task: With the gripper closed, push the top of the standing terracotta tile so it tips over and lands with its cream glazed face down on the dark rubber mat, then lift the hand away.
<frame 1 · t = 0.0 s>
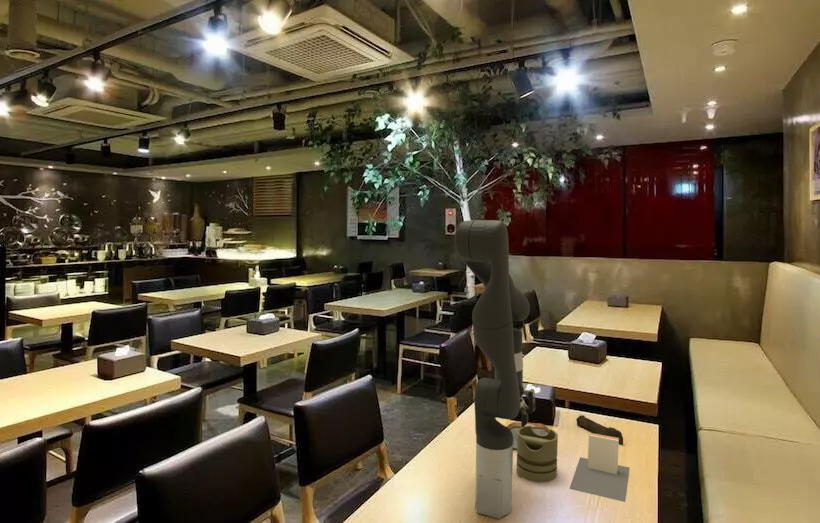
hand: (508, 422, 137), 17 cm above the table, tool pointing down, fingers open, 8 cm apart
hand tool: (601, 436, 169), on the table
piston: (536, 474, 143), on the table
tile: (602, 469, 145), resting on mat
tin: (527, 449, 159), on the table
mat: (600, 478, 140), on the table
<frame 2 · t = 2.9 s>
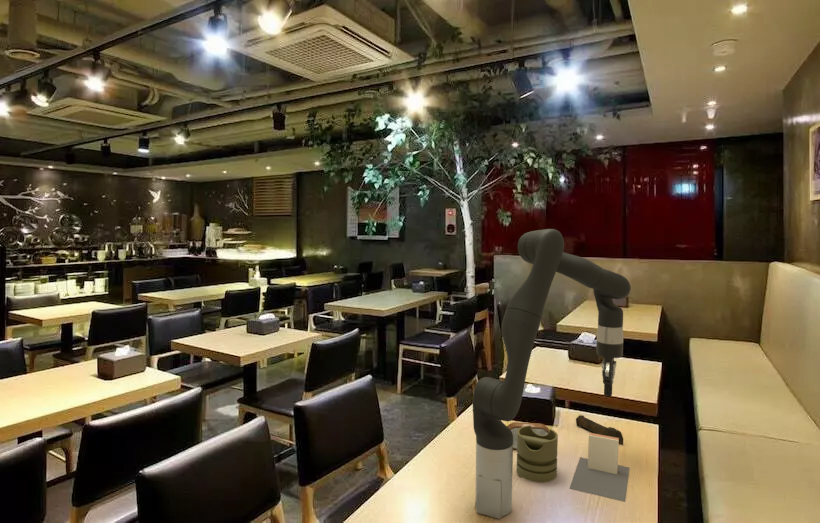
hand: (608, 395, 152), 20 cm above the table, tool pointing down, fingers closed
nothing on the table moved.
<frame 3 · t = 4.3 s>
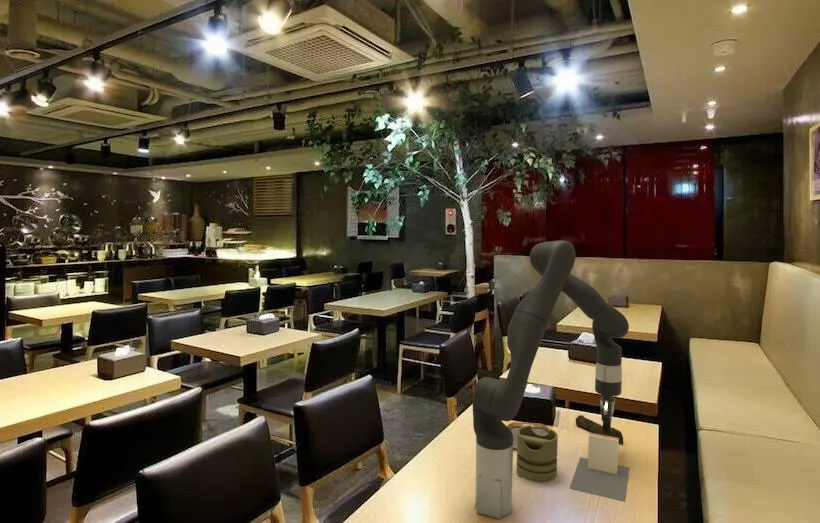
hand: (606, 432, 152), 8 cm above the table, tool pointing down, fingers closed
nothing on the table moved.
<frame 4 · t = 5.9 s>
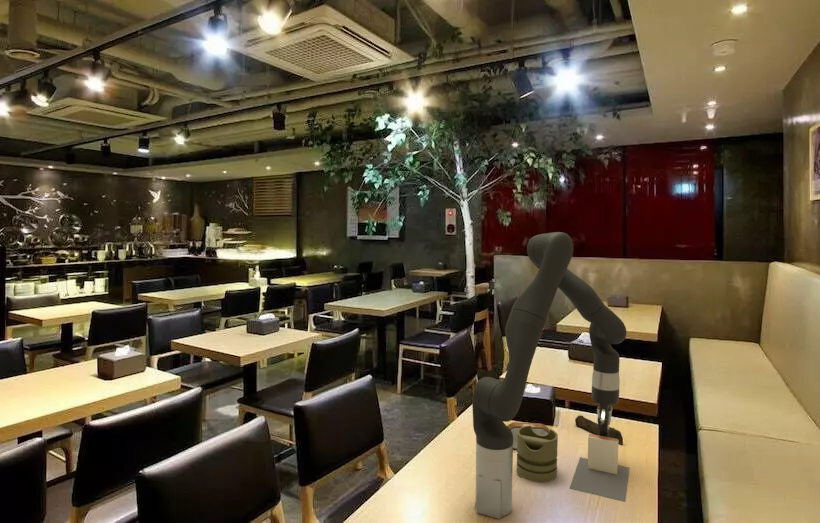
hand: (603, 442, 146), 8 cm above the table, tool pointing down, fingers closed
tile: (602, 469, 145), point 1 cm above the table, tilted 7°, touching mat
everything else where it was.
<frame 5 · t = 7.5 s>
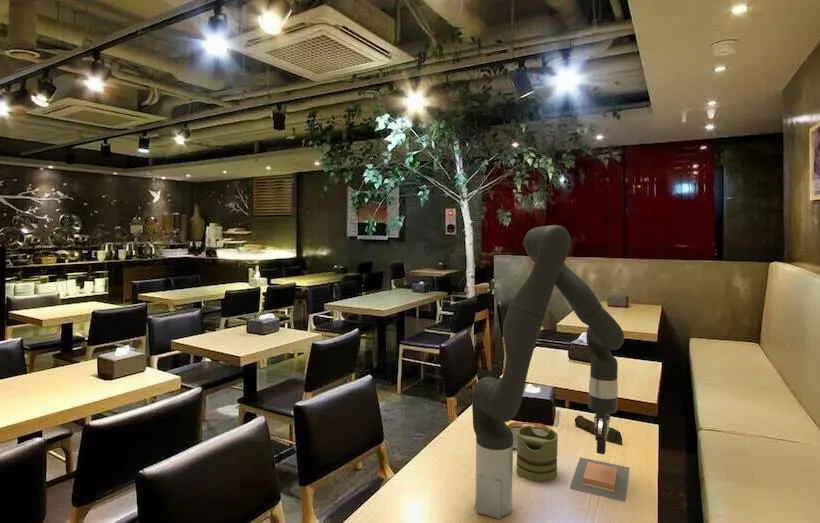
hand: (601, 452, 139), 8 cm above the table, tool pointing down, fingers closed
tile: (602, 468, 143), point 1 cm above the table, tilted 90°, touching mat
everything else where it was.
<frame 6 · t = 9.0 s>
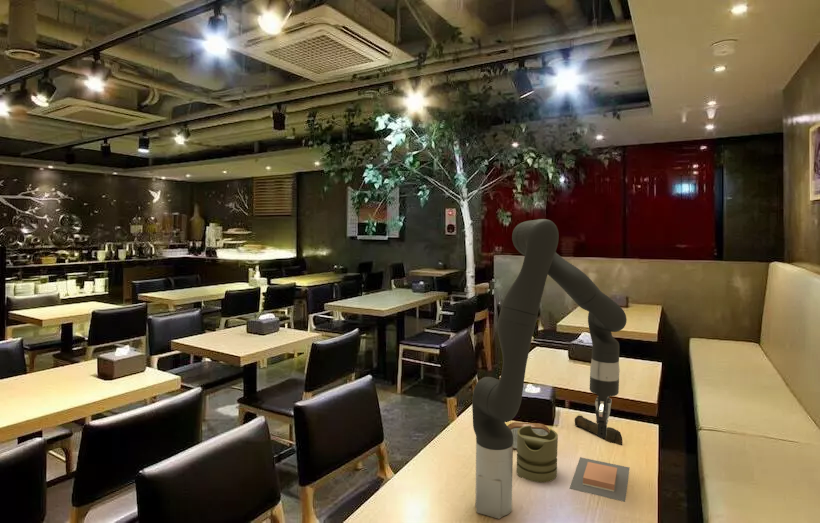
hand: (601, 436, 138), 13 cm above the table, tool pointing down, fingers closed
nothing on the table moved.
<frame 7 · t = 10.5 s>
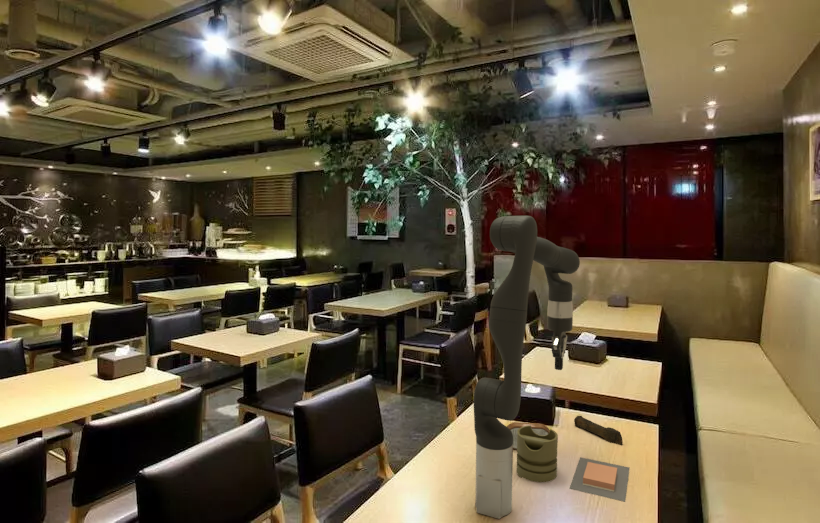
hand: (558, 369, 155), 27 cm above the table, tool pointing down, fingers closed
nothing on the table moved.
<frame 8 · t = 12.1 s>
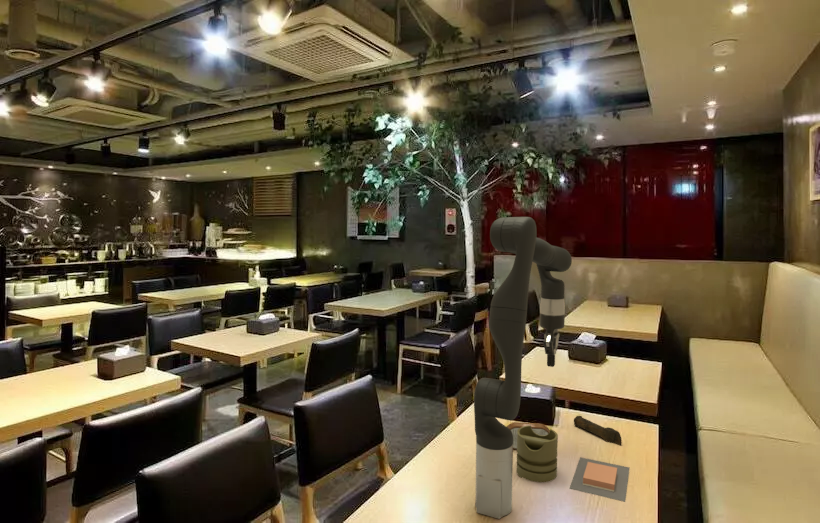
hand: (550, 365, 157), 27 cm above the table, tool pointing down, fingers closed
nothing on the table moved.
at the end: tile tilted 90°; tile touching mat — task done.
